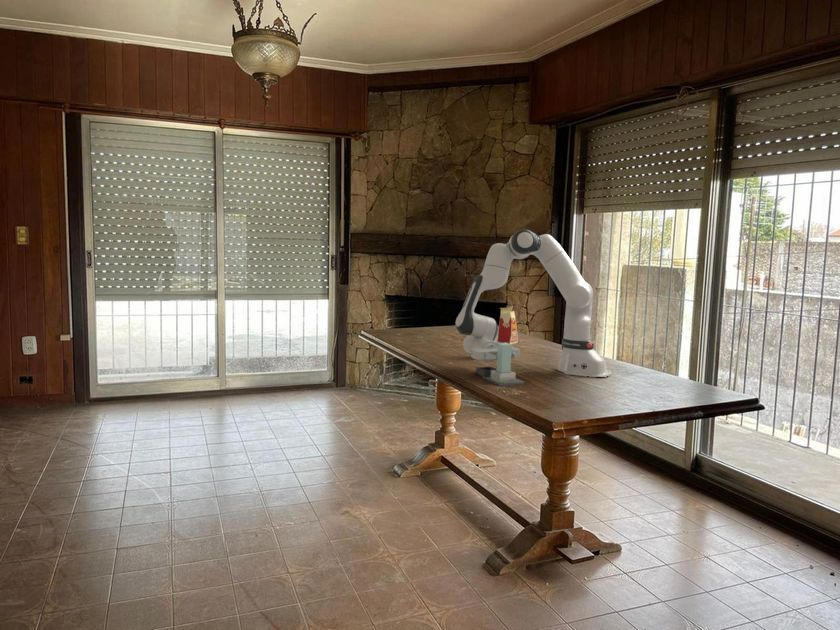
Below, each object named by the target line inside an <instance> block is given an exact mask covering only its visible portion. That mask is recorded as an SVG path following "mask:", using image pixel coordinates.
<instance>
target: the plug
mask: <svg viewBox="0 0 840 630" xmlns="http://www.w3.org/2000/svg"><path fill="white" fill-rule="evenodd" d="M512 346H513V344H508V343H499V344H498V349H497V359H496V371H497V372H499V373H510V371H511V367H512V366H511V365H512V364H511V363H512V358H511V350H512Z"/></svg>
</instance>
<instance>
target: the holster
mask: <svg viewBox="0 0 840 630" xmlns="http://www.w3.org/2000/svg"><path fill="white" fill-rule="evenodd" d="M496 369H497V367H496V368H495V367H493V366H480V367H479V366H478V367H476V368H475V374H477V375H479V376H481V377H482V376H486V375H491V370H496Z"/></svg>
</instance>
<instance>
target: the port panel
mask: <svg viewBox="0 0 840 630" xmlns="http://www.w3.org/2000/svg"><path fill="white" fill-rule="evenodd" d="M516 375H517V374H516V372H515V371H512V370H510V373H499V372H497V371H496V370H491V375H486V376H481V378H482V379H483V380H486V381H487V382H489V383H491V384H495V385H497V386H499V387H505V386H506V387H507V386H508V387H510V386H519V385H525V381H524V380H521V379H518V378H516Z"/></svg>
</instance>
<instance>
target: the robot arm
mask: <svg viewBox="0 0 840 630" xmlns="http://www.w3.org/2000/svg"><path fill="white" fill-rule="evenodd" d="M530 255H532V256H534V257H536V258H537V259H538V260H539V262H540V263H541V265H542V266H543V268H544V269H545V270H546V272H547V273H548V275H549V276H550V278H551V279H552V281H553V282H554V284H555V286H556V287H557V289H558V291H559V292H560V294H561V295H562V297H563V298H564V300H565V302H566V306H565V315H564V325H563V327H564V328H563V337H562V339H561V356H560V357H561V358H560V360H559V364H558V366H557V371H559V372H561V373H563V374H565V375H570V376H571V375H572V376H578V377H579V376H580V377H587V376H589V377H590V378H596V377H605V378H608V377H611V375H612V371H611V370H609V369H607V363H606V359H605V358H604V357H603V356H602V355H601V354H600V353H599V352H597V351H596V350H595V349H594V347H595V346H594V345H595V344H596V342H595V341H592V340H591V338H590V337H591V326H592V325H591V324H592V312H593V300H594V290H593V287H592V286H591V285H590V283H588V282H586V281H585V279H584V277H583V276H582V274H581V273H580V272H579V270H578V268H577V267H576V265H575V262H573V260H572V259H571V258H570V256H568V254H567V252H566V251H565V250H564V248H563V246H561V244H560V243H559V242H558V241H557V240H556V239H555V238H554V237H553V236H552V235H551V234H549V233H544V234H541V235H539V234H537V233H535V232H533V231H531V230H530V229H527V228H526V229H525V228H521V229H519V230H517V231H515V232H514V233H513V234H512V235H511V236H510V239H509V240H508V242H507V243H502V242H500V243H498V242H497V243H494V244H492V245H491V246H490V248H489V250H488V253H487V255H486V259H485V262H484V265H483V269H482V270H481V272H480V274H479V275H476V276H475V277H474V278H473V281H472V282H471V284H470V287H469V289H468V292H467V294H466V296H465V300H464V301H463V304H462V307H461V309H460V311H459V313H458V315H457V316H456V319H455V322H454V323H455V325H454V326H455V328H456V330H457V332H458V333H459V334H460V335H464V336H466V337H465V338H464V339H463V342H462V347H463V349H464V350H465V352H466V353H467V354H468V355H470V356H471V358H472V359H473V360H476V361H484V362H488V363H490V362H493V361H497V349H498V344H499V343H506V342H498V341H497V342H495V341H494V340H495V338H496V336H497V337H498V335H497V332H498V331H499V326H498V323H497V321H496V320H495V318H493V317H490V316H486V315H481V314H478V313H476V312H475V308H476V307H477V303H478V301H479V299H480V296H481V294H482V293H483V292H485V291H488V290H496V289H499V288H502V287H504V286H505V284H506V283H507V281H508V278H509V275H510V269H511V265H512V262H513V261H522V260H525V259H527V258H528V257H529V256H530ZM519 357H520V349H519V348H518V347H516V346H515V345H512V350H511V359H517V358H518V359H519ZM607 376H608V377H607Z"/></svg>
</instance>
